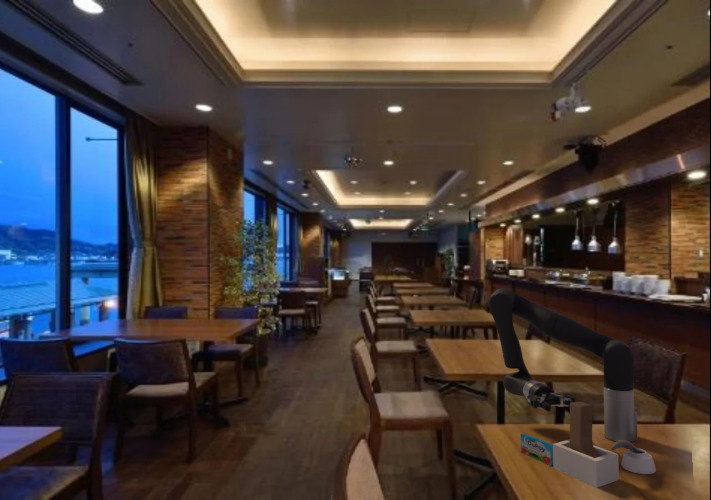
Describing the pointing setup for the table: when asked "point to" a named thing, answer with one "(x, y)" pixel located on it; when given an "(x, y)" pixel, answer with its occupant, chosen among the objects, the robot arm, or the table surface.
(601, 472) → the base block
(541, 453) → the yogurt
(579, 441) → the wooden block
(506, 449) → the table surface
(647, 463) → the inkwell
